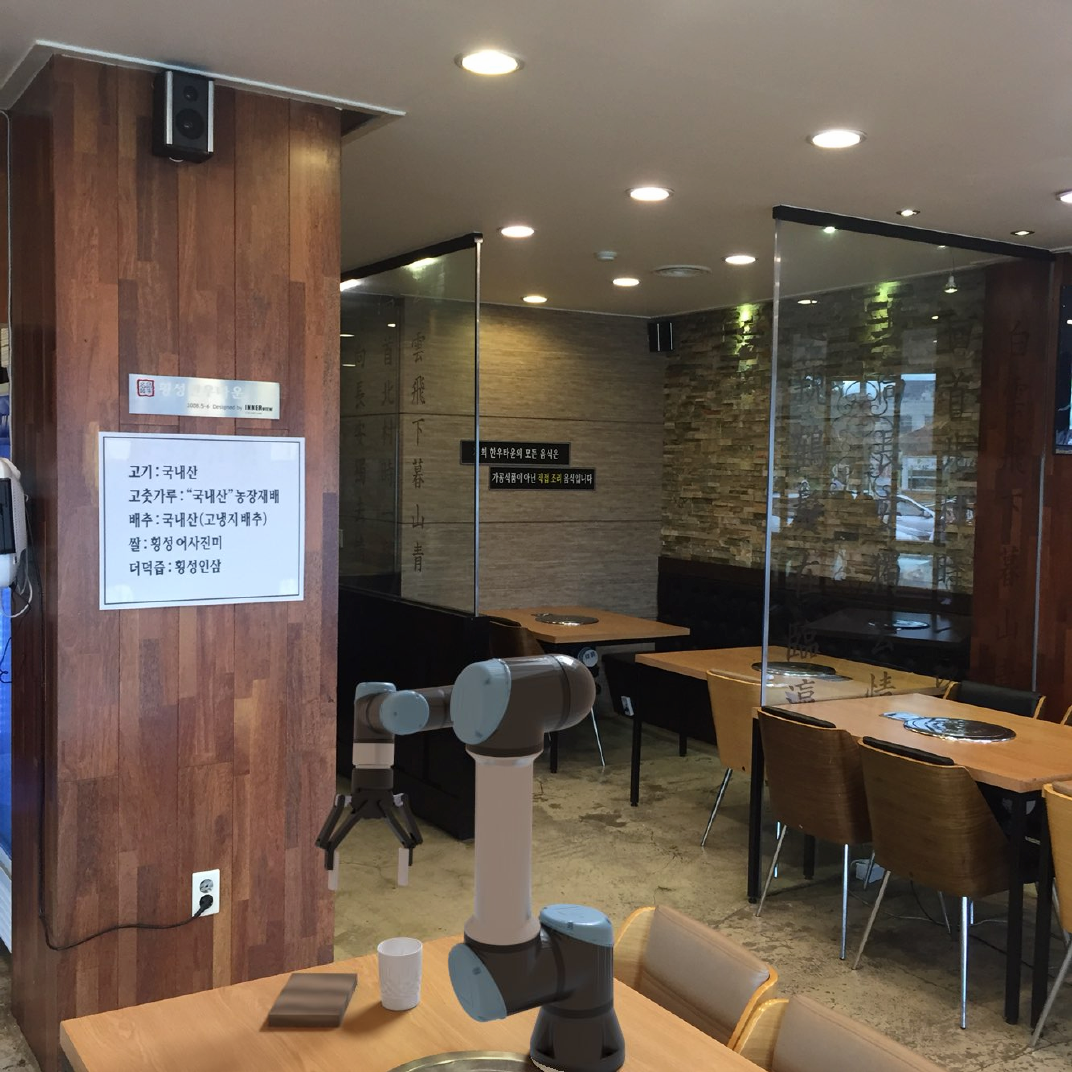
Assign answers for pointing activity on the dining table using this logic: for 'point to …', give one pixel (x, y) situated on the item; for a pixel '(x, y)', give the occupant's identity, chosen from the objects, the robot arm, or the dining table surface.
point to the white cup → (400, 972)
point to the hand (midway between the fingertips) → (368, 887)
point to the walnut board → (313, 999)
